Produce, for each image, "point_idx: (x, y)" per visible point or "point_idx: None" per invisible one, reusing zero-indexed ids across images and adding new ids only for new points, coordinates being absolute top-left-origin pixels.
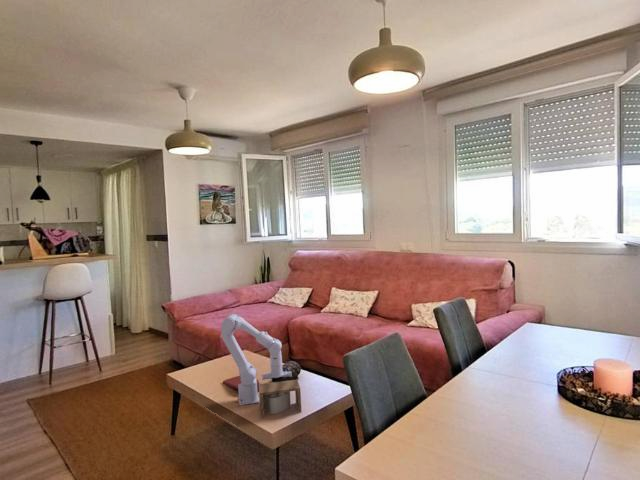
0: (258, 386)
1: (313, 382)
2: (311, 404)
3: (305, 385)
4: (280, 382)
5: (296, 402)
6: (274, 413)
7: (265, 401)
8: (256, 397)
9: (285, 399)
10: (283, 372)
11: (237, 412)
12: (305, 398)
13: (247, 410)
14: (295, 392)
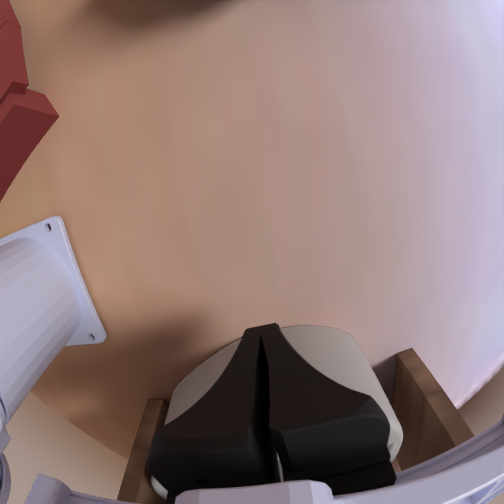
0: (22, 114)
1: (498, 30)
2: (466, 359)
3: (467, 51)
4: None
5: (402, 394)
6: None
7: None
8: (70, 327)
9: None
10: (456, 487)
11: (54, 408)
12: (463, 287)
13: (88, 406)
14: (431, 415)
